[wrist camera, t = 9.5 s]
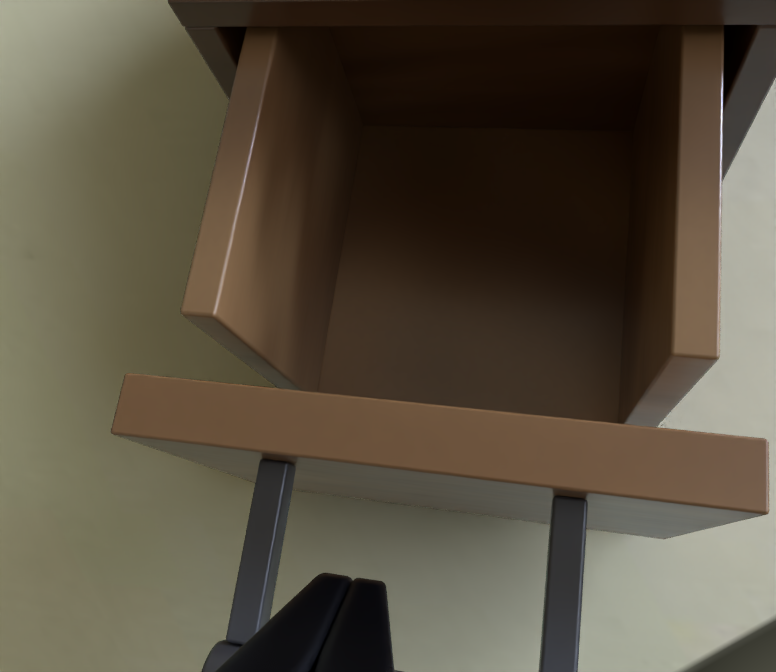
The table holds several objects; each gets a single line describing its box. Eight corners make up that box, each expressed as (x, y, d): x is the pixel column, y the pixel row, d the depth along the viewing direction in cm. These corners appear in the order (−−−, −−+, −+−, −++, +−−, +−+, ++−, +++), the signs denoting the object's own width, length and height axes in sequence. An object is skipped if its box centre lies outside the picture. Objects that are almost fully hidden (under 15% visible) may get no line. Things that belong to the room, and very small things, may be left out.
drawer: (659, 733, 18) (773, 865, 10) (233, 655, 21) (39, 708, 12) (679, 131, 23) (766, -114, 15) (331, 123, 25) (240, -93, 17)
